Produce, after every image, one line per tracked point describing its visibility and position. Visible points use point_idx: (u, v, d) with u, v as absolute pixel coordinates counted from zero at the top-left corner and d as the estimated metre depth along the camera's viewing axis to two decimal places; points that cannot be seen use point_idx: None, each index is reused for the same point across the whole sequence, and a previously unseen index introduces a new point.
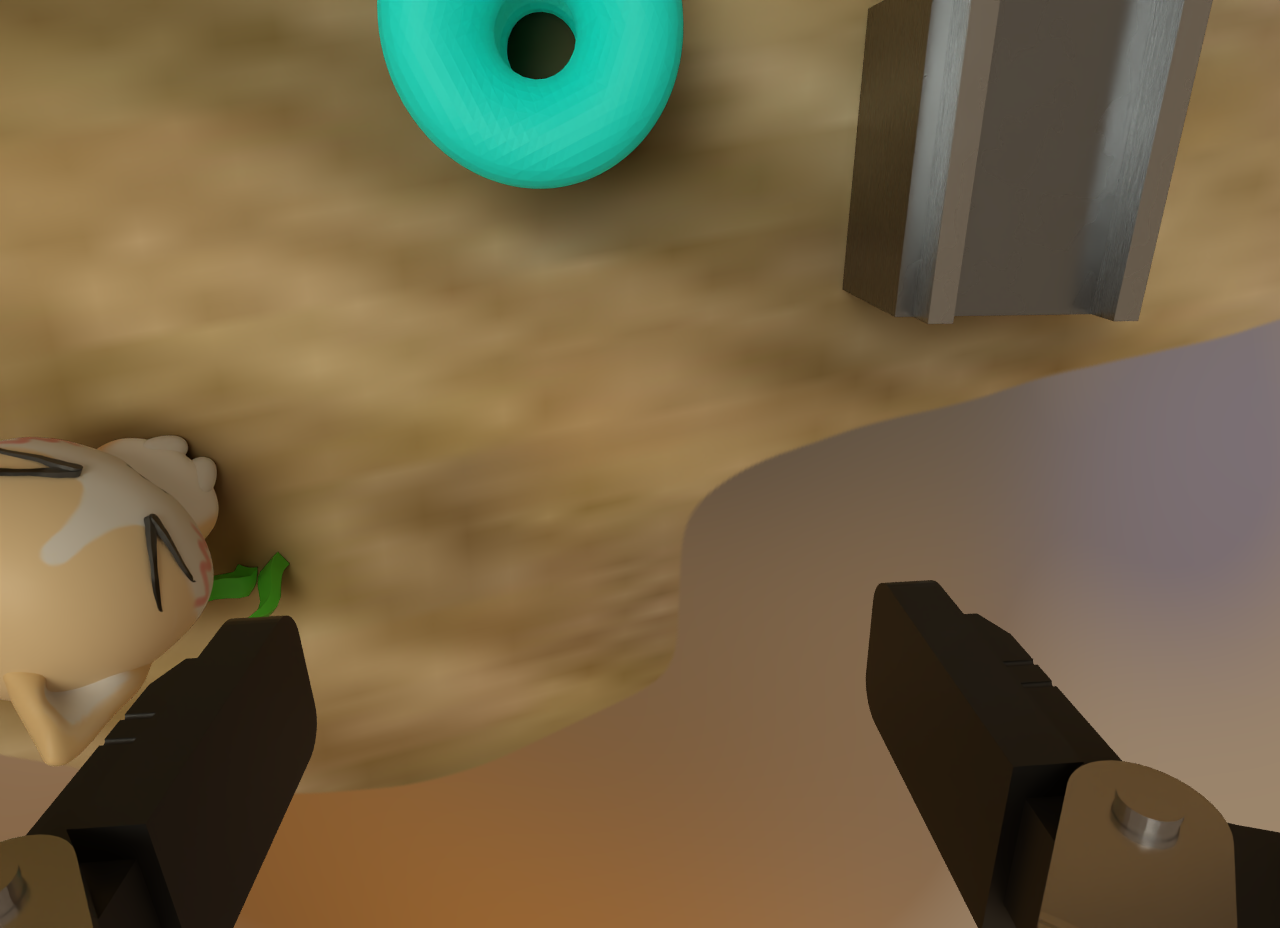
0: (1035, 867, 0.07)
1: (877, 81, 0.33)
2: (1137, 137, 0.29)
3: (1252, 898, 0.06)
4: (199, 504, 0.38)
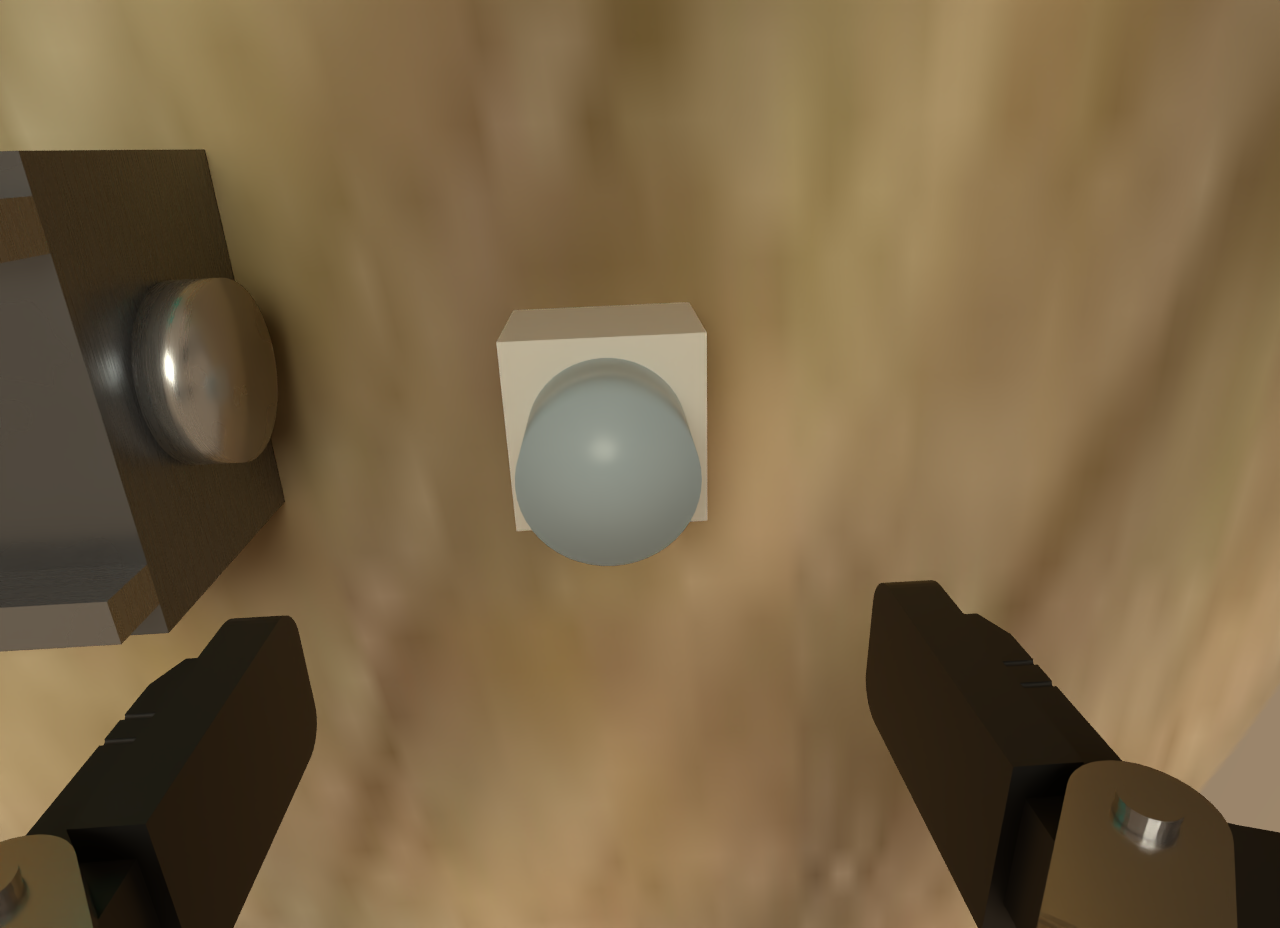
0: (1035, 867, 0.07)
1: None
2: None
3: (1252, 898, 0.06)
4: None
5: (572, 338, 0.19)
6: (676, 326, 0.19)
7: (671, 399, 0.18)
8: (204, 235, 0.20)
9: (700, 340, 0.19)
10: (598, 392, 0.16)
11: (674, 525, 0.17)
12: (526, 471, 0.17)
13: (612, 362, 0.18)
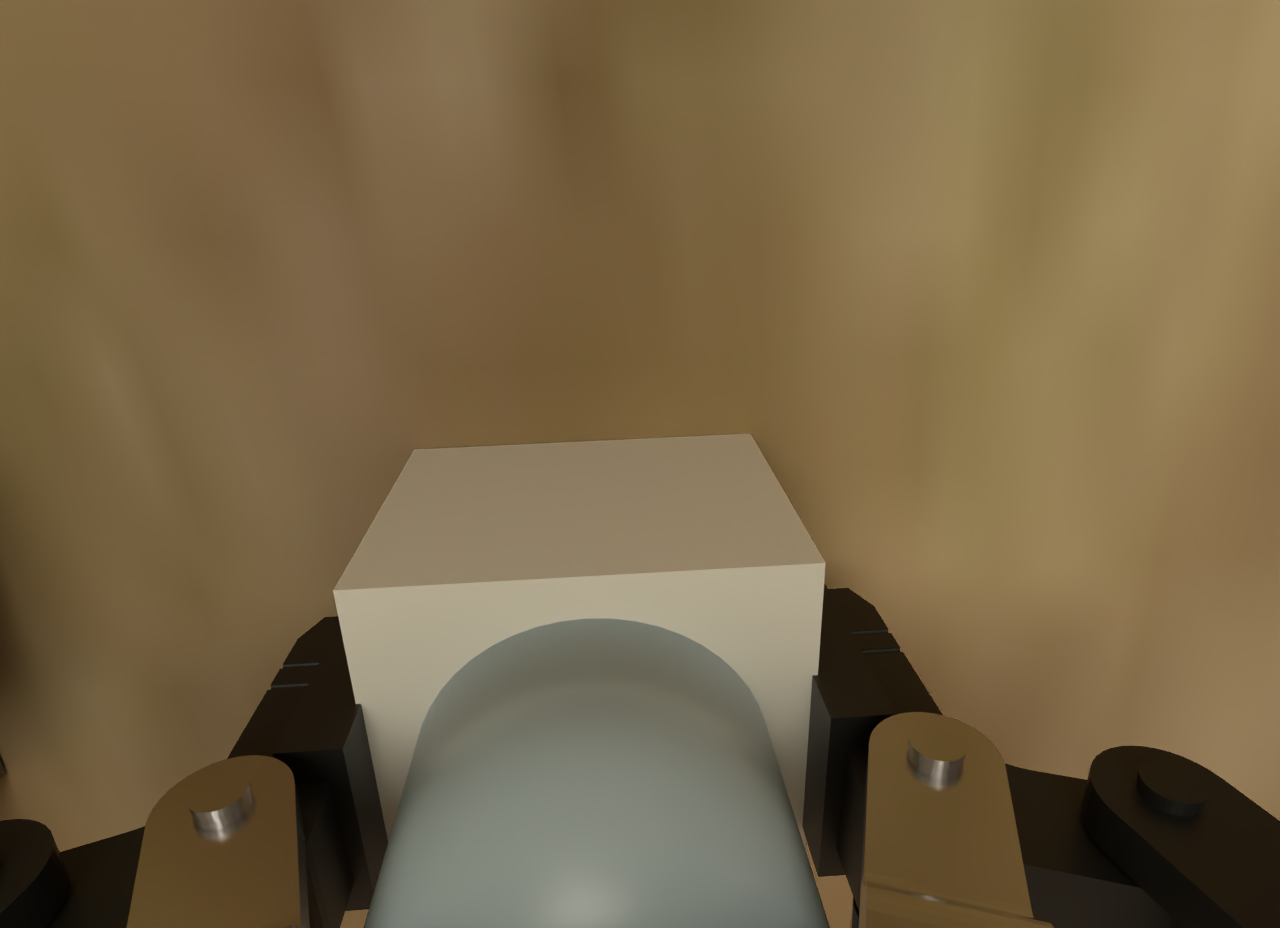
0: (852, 810, 0.08)
1: None
2: None
3: (1025, 831, 0.07)
4: None
5: (514, 578, 0.08)
6: (748, 531, 0.09)
7: (754, 757, 0.07)
8: None
9: (810, 579, 0.08)
10: (569, 837, 0.06)
11: None
12: None
13: (607, 644, 0.08)
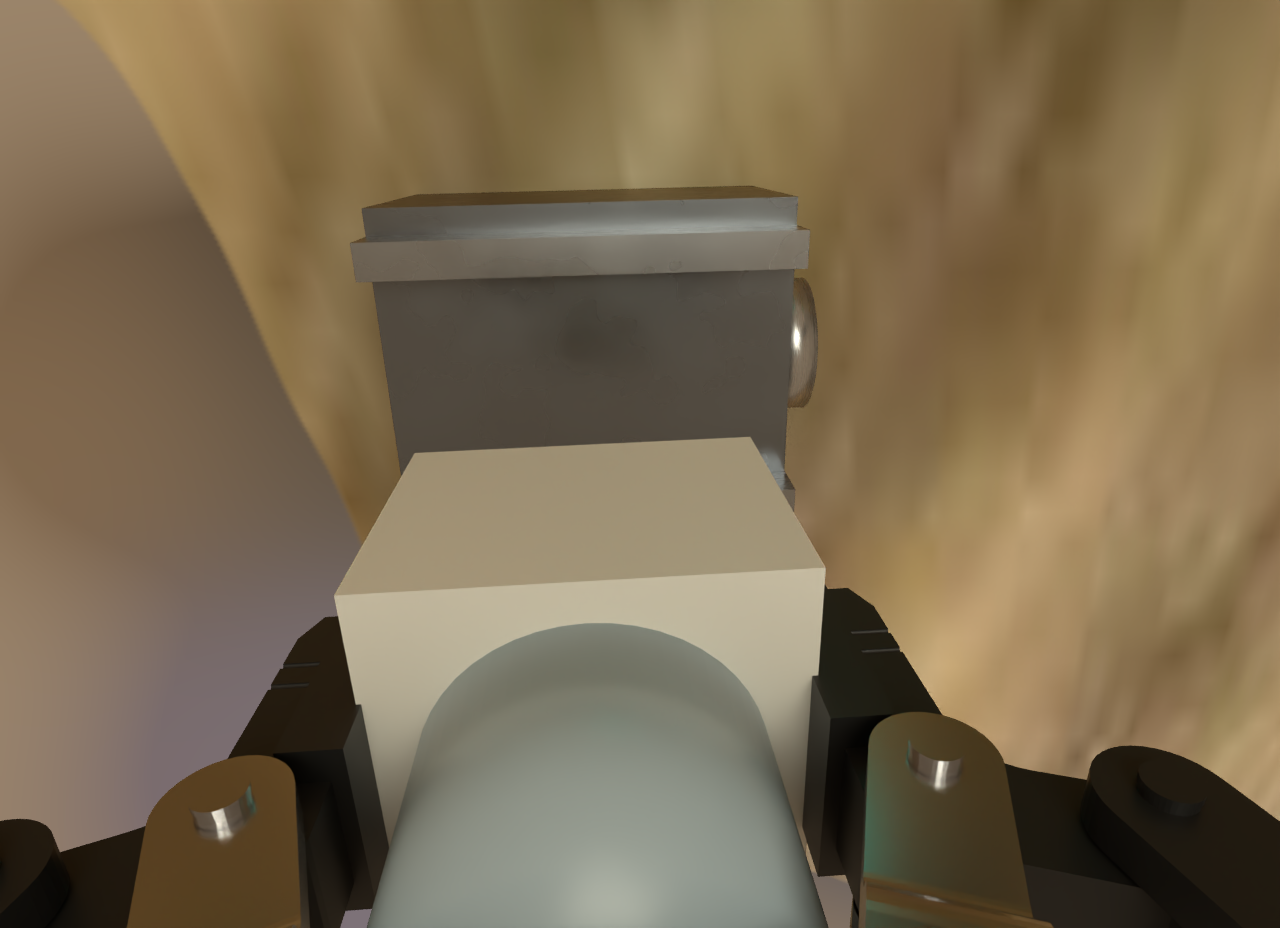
0: (851, 810, 0.08)
1: (674, 190, 0.26)
2: None
3: (1024, 831, 0.07)
4: None
5: (514, 583, 0.08)
6: (748, 535, 0.09)
7: (755, 762, 0.07)
8: None
9: (810, 584, 0.08)
10: (569, 844, 0.06)
11: None
12: None
13: (608, 649, 0.08)
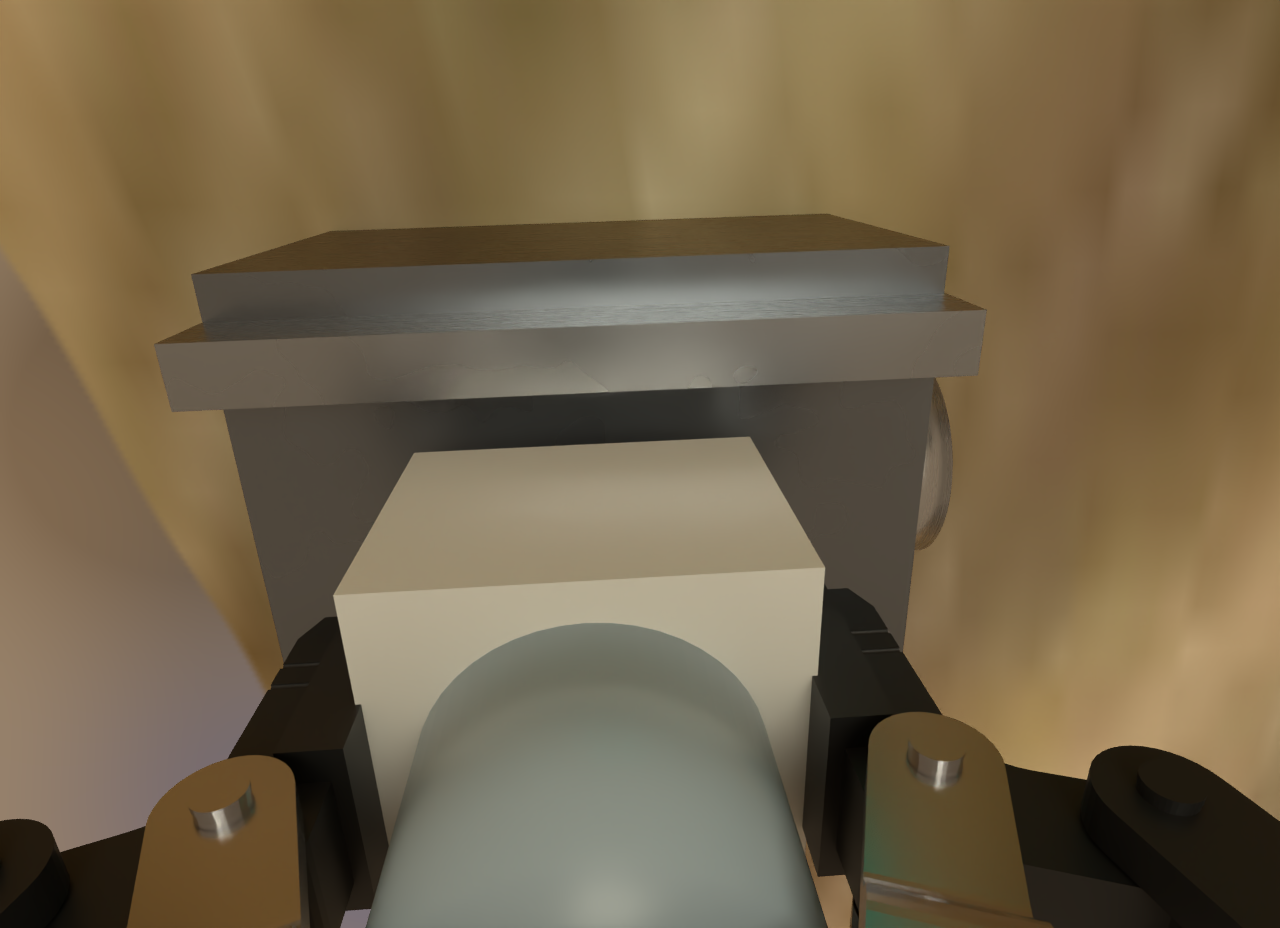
0: (852, 810, 0.08)
1: (719, 225, 0.17)
2: None
3: (1024, 831, 0.07)
4: None
5: (514, 582, 0.08)
6: (748, 535, 0.09)
7: (754, 761, 0.07)
8: None
9: (810, 584, 0.08)
10: (568, 843, 0.06)
11: None
12: None
13: (607, 648, 0.08)
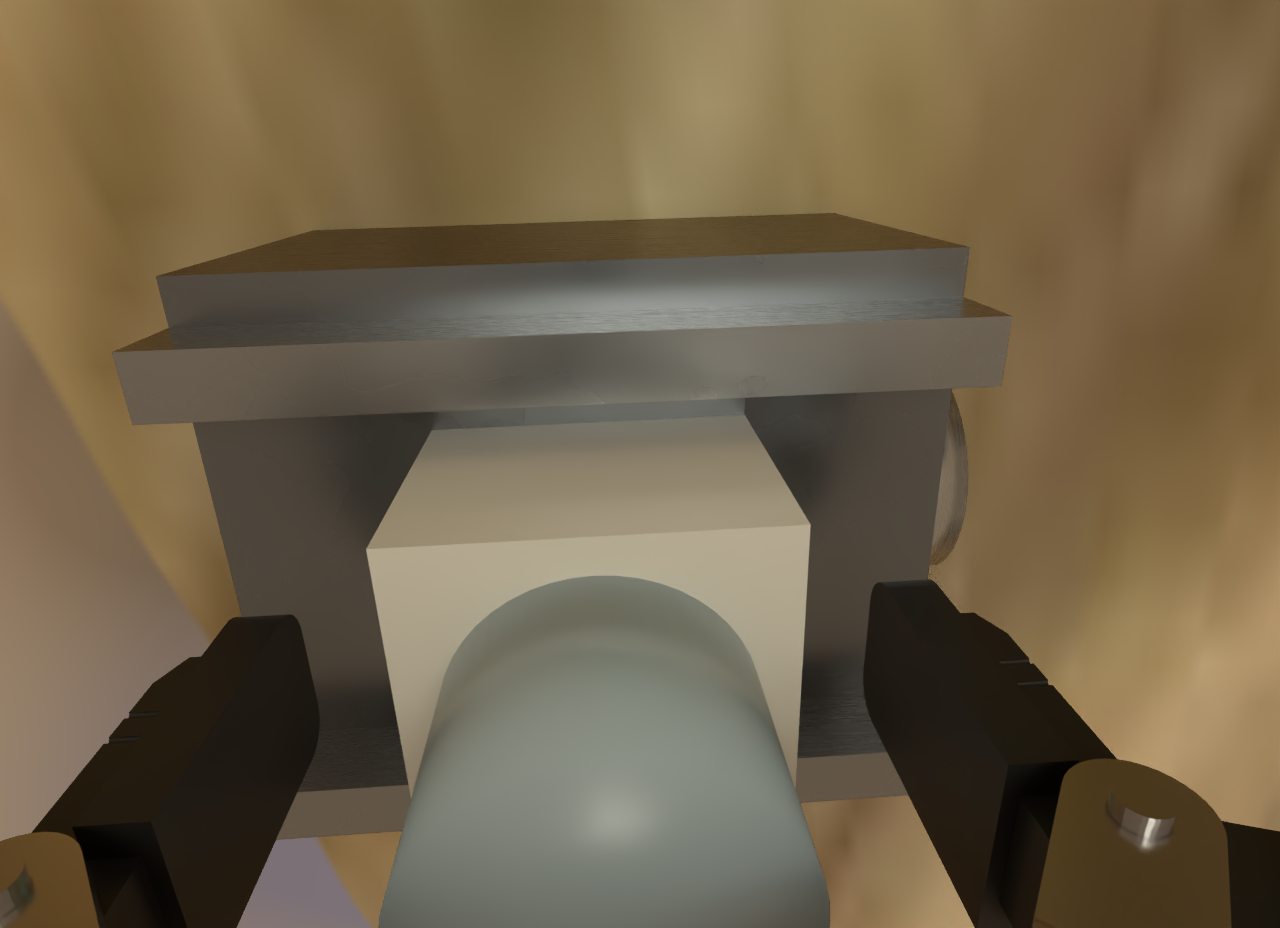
0: (1030, 865, 0.07)
1: (722, 225, 0.16)
2: None
3: (1246, 896, 0.06)
4: None
5: (529, 538, 0.09)
6: (741, 498, 0.10)
7: (745, 694, 0.08)
8: None
9: (797, 540, 0.09)
10: (582, 748, 0.06)
11: None
12: (406, 926, 0.07)
13: (613, 596, 0.09)
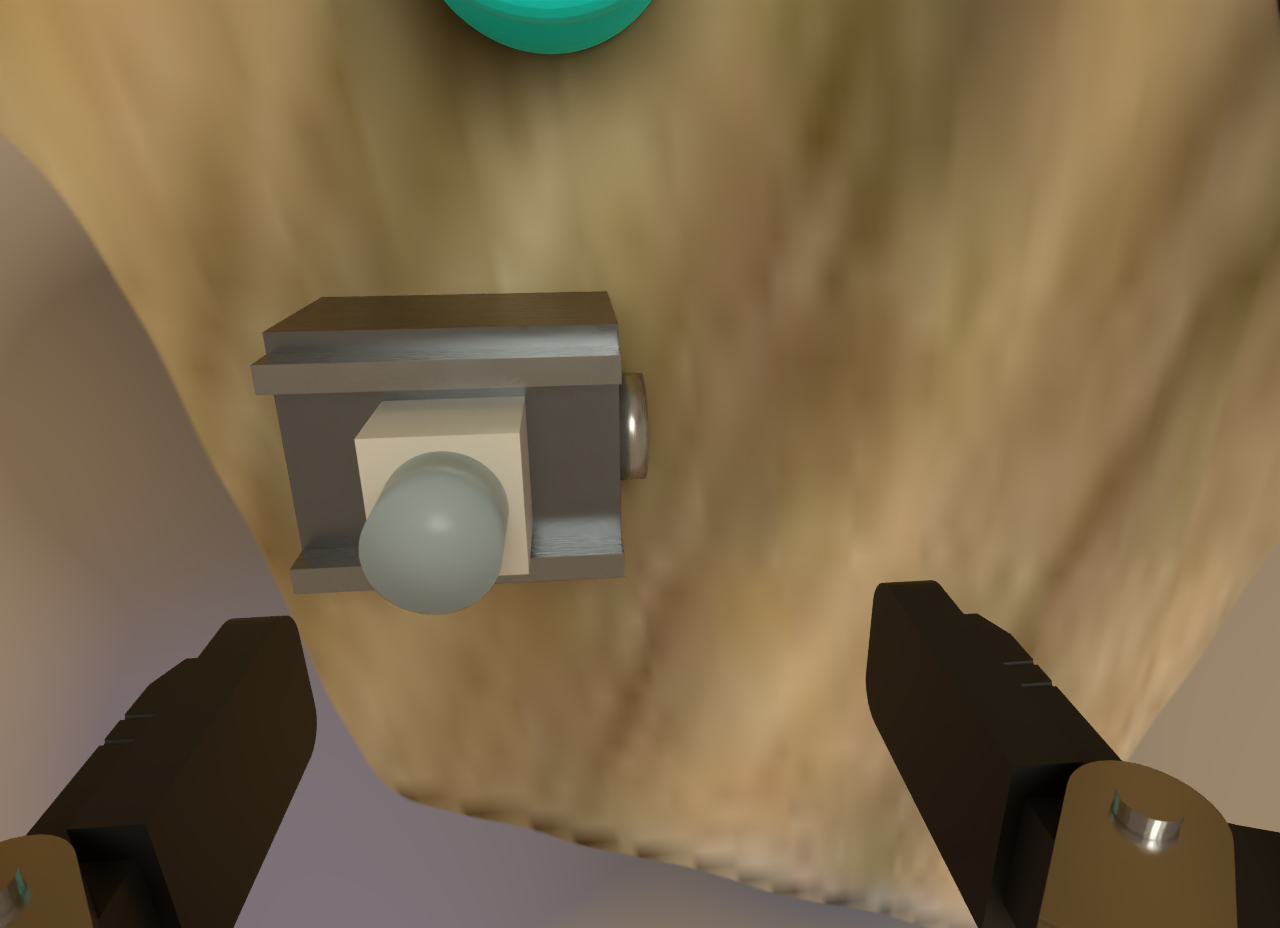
0: (1035, 867, 0.07)
1: (535, 301, 0.32)
2: None
3: (1252, 898, 0.06)
4: None
5: (414, 436, 0.24)
6: (500, 425, 0.25)
7: (486, 487, 0.23)
8: None
9: (514, 438, 0.24)
10: (420, 487, 0.22)
11: (483, 584, 0.23)
12: (367, 544, 0.22)
13: (444, 456, 0.24)
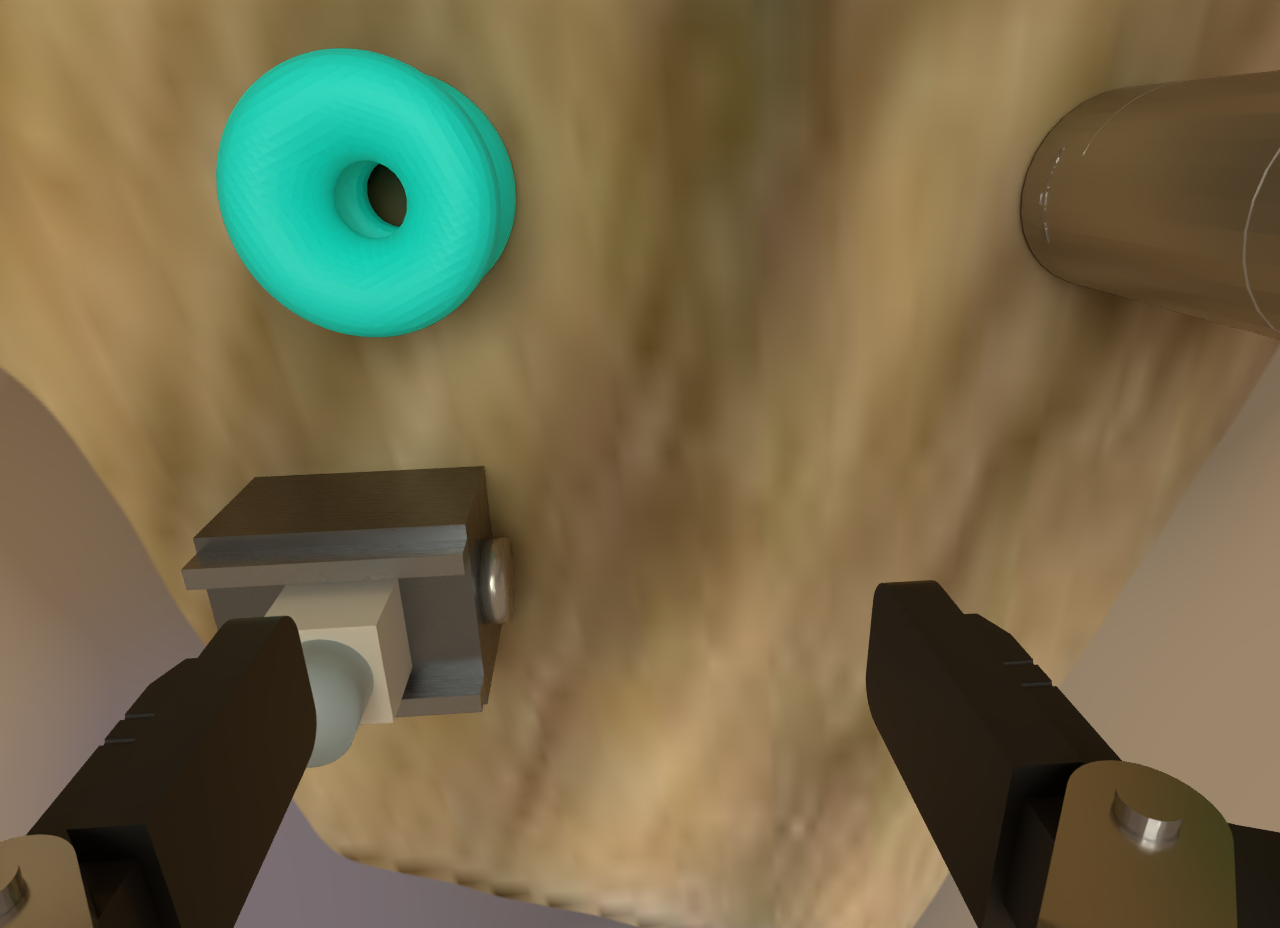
0: (1035, 867, 0.07)
1: (419, 485, 0.40)
2: None
3: (1252, 898, 0.06)
4: None
5: None
6: (365, 615, 0.33)
7: (347, 671, 0.32)
8: (485, 509, 0.42)
9: (372, 629, 0.33)
10: None
11: (342, 746, 0.31)
12: None
13: (318, 645, 0.32)
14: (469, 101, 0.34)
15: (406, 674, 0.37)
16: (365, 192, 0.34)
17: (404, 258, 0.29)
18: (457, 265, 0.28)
